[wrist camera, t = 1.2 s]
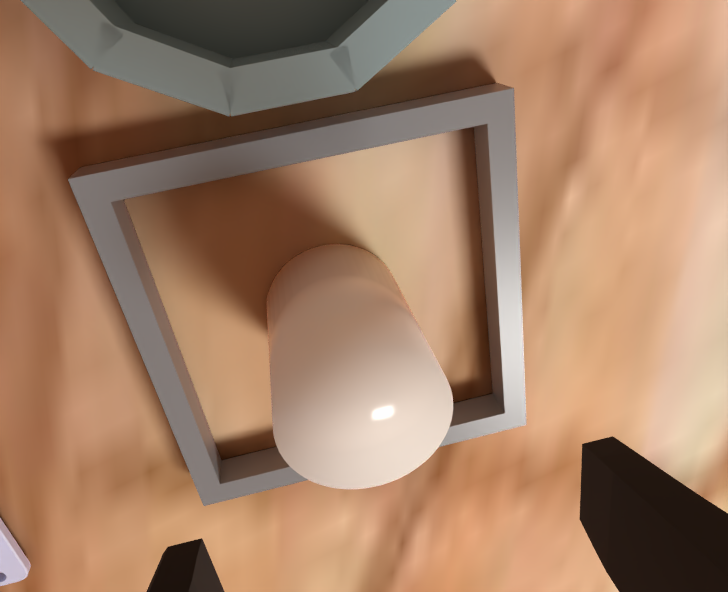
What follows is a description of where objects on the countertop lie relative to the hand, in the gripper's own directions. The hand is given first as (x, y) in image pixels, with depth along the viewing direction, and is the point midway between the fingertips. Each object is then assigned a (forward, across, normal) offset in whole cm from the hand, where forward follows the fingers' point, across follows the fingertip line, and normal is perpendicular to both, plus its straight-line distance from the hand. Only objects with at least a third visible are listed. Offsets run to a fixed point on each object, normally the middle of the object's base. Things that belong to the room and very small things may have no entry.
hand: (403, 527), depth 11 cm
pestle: (+10, 0, 0) cm, 10 cm away
